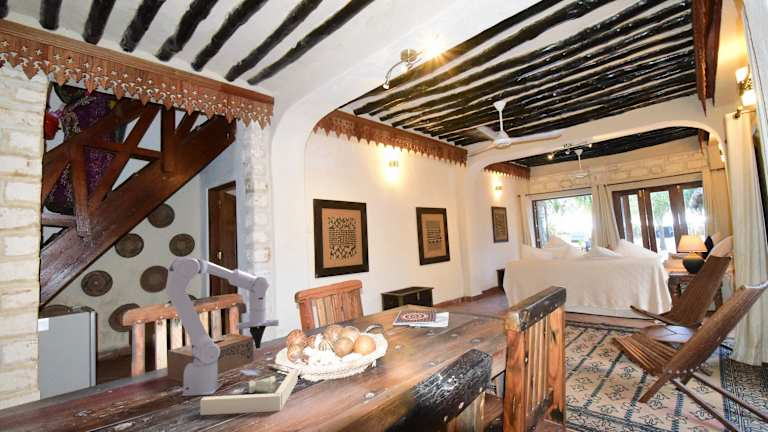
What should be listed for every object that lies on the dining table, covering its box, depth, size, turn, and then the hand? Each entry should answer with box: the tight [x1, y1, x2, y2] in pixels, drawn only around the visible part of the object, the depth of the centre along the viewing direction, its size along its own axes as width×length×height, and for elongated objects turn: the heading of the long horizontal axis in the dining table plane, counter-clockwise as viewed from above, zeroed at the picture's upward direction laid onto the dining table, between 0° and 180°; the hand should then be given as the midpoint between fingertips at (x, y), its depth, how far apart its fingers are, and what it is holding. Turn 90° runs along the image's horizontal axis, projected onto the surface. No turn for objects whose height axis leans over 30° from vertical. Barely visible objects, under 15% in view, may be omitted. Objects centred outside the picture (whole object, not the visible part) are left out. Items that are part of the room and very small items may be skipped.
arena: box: [199, 368, 299, 416], centre depth 106 cm, size 22×21×4 cm
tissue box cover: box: [167, 333, 255, 384], centre depth 132 cm, size 26×14×10 cm, turn 149°
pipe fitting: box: [247, 375, 277, 395], centre depth 108 cm, size 8×4×7 cm
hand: (258, 347), depth 124 cm, fingers closed
